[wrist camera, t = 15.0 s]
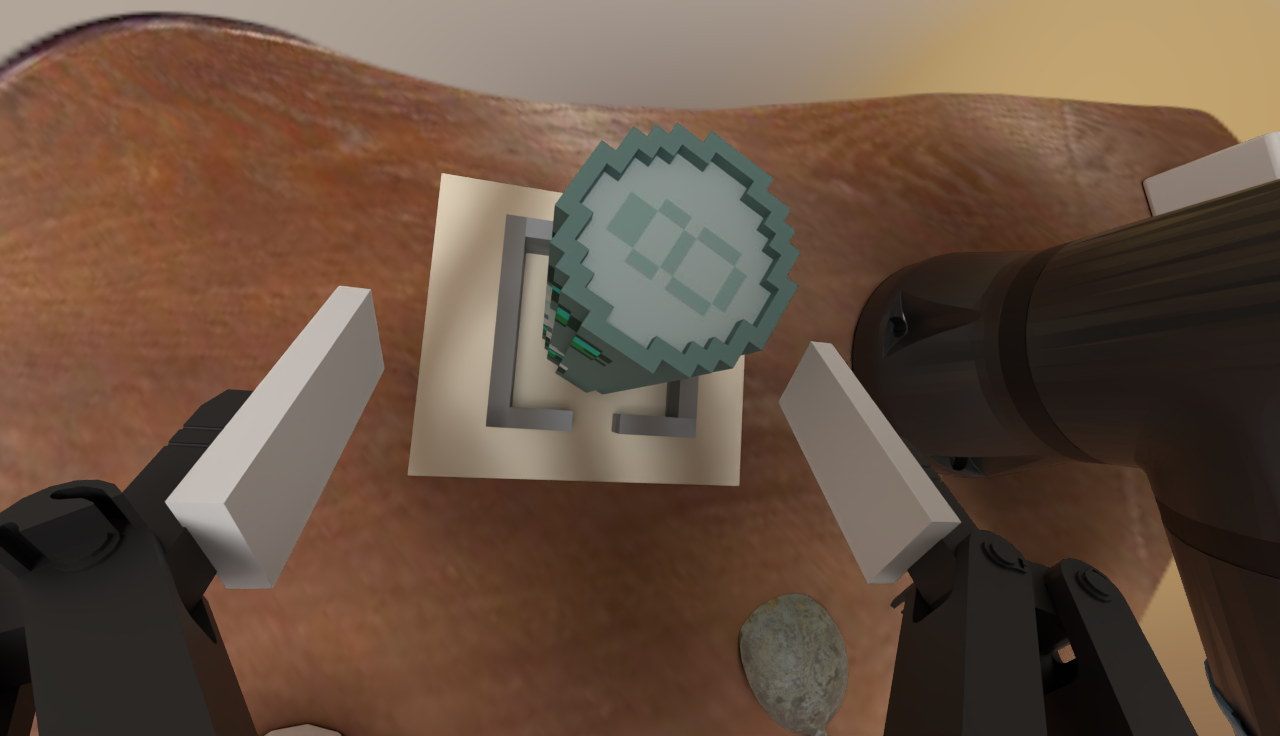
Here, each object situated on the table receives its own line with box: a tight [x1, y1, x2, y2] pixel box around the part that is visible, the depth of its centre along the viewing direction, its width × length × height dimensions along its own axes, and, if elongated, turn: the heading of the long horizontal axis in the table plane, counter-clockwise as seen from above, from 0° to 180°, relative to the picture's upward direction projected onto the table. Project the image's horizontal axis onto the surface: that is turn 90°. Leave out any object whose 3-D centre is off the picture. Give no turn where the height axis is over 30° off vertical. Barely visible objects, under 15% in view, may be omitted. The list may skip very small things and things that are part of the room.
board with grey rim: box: [408, 173, 745, 486], centre depth 25 cm, size 18×16×4 cm
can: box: [542, 122, 800, 395], centre depth 18 cm, size 6×6×15 cm
